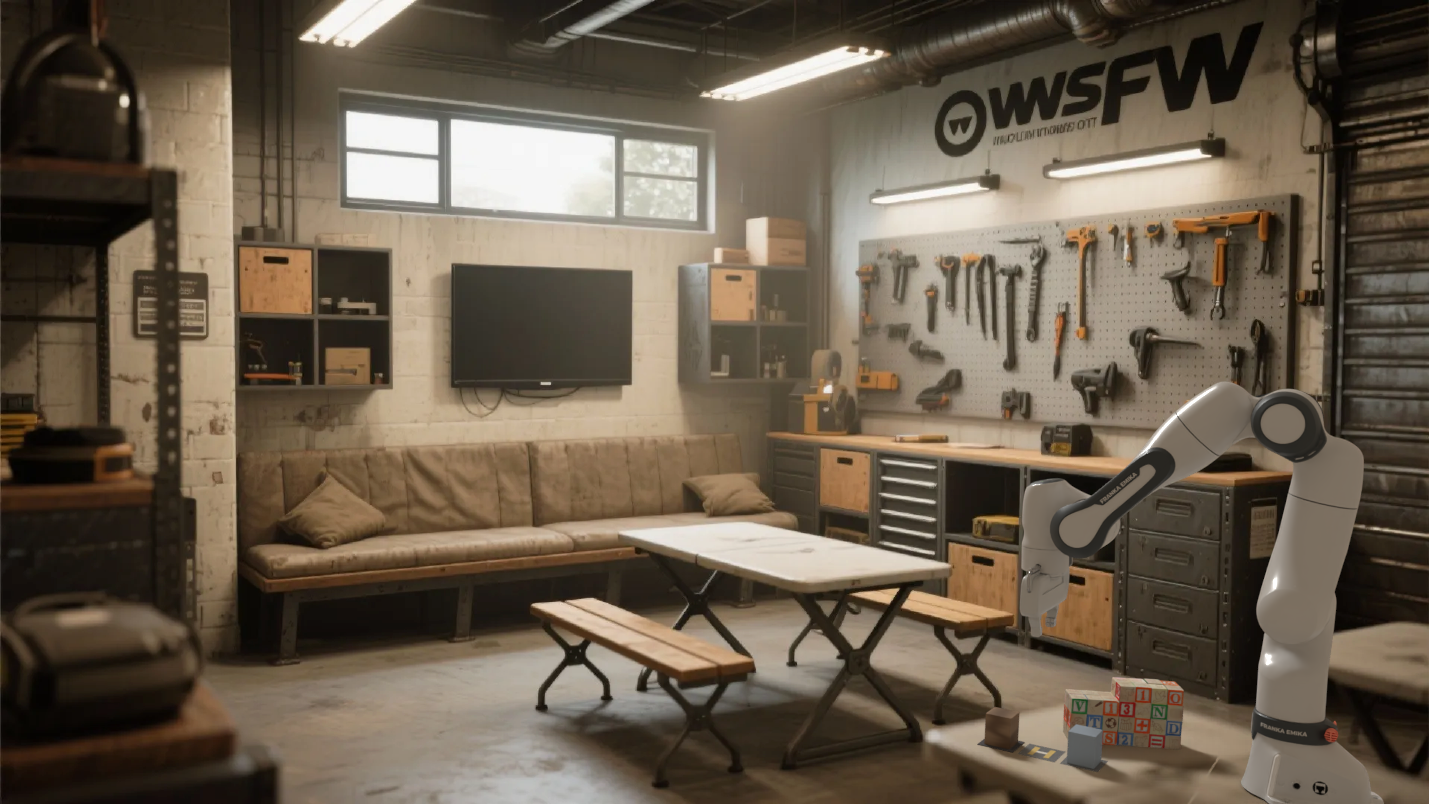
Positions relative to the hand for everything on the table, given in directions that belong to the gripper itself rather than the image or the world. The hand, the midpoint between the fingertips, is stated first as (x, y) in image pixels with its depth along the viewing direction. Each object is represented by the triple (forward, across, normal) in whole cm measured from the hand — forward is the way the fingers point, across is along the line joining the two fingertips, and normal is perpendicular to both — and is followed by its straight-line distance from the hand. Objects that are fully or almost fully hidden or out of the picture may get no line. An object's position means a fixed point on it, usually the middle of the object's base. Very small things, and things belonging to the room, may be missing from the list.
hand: (1043, 631), depth 230 cm
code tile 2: (+22, -7, -10) cm, 25 cm away
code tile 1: (+22, -7, -2) cm, 23 cm away
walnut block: (+21, -7, +6) cm, 23 cm away
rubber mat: (+22, -7, +6) cm, 24 cm away
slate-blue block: (+22, -7, -10) cm, 25 cm away
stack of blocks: (+23, +10, -13) cm, 28 cm away
